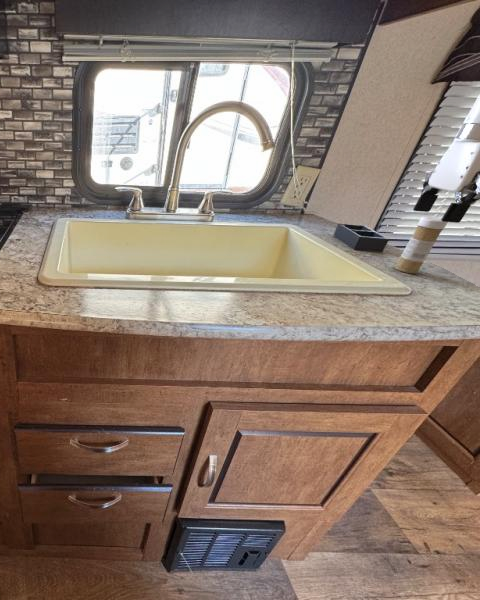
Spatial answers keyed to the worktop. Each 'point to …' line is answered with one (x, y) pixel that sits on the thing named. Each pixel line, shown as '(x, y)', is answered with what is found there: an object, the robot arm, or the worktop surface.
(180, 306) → the worktop surface
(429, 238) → the sprinkles bottle
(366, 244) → the grid
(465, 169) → the robot arm
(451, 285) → the worktop surface
